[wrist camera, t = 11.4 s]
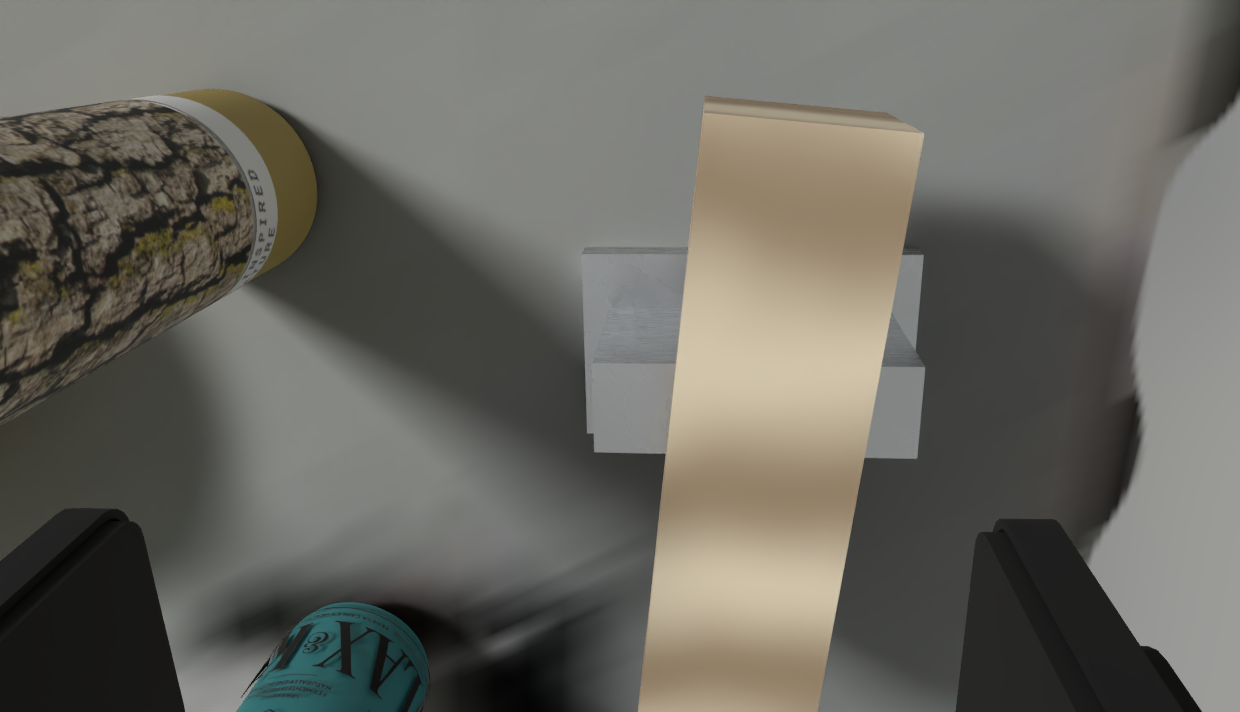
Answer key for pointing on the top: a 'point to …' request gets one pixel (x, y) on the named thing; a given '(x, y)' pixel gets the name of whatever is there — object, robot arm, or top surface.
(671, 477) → the beam
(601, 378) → the fulcrum
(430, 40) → the top surface
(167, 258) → the brown bark cylinder
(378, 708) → the beverage bottle
